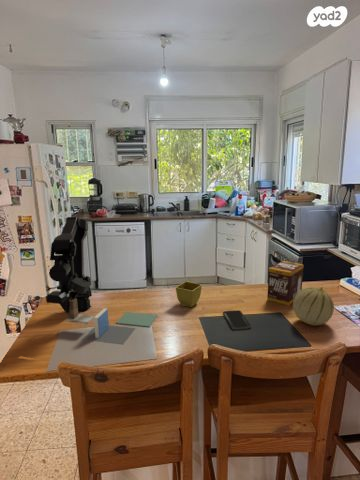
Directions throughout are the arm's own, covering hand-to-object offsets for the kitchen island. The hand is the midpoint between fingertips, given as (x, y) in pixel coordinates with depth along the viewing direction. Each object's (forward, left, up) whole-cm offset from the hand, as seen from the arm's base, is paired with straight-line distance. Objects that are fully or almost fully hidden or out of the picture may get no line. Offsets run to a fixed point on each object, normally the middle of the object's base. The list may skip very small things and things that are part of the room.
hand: (69, 311), depth 127 cm
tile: (+13, 0, -7) cm, 15 cm away
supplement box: (+81, +50, -8) cm, 95 cm away
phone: (+61, +22, -9) cm, 65 cm away
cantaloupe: (+90, +26, -8) cm, 94 cm away
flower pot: (+39, +33, -8) cm, 52 cm away
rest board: (+22, +13, -8) cm, 27 cm away
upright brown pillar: (+4, 0, -3) cm, 5 cm away
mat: (+16, 0, -8) cm, 18 cm away
